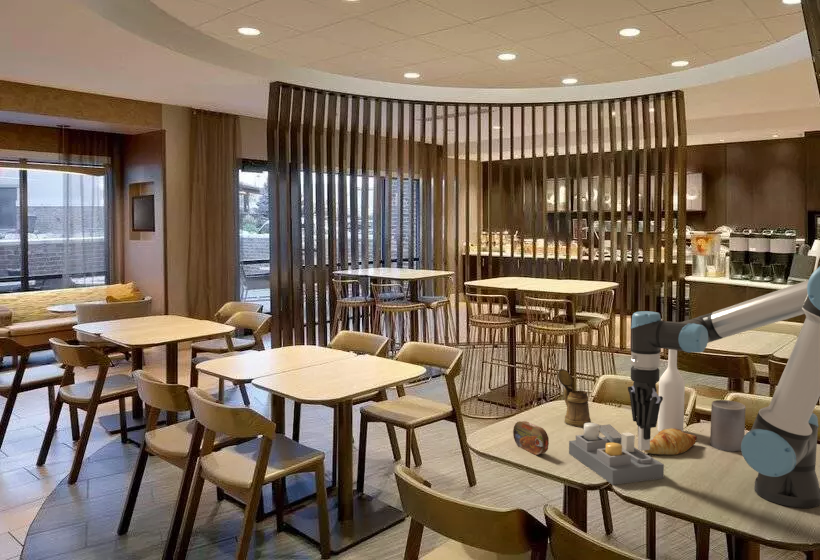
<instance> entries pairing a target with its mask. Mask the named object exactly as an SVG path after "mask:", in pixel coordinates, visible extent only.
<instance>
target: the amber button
mask: <svg viewBox="0 0 820 560" xmlns="http://www.w3.org/2000/svg"><path fill="white" fill-rule="evenodd" d="M605 453H607V454H608V455H610V456H617V455H622V445H621V444H619V443H613V442H610V443H606V452H605Z"/></svg>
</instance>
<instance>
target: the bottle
mask: <svg viewBox="0 0 820 560" xmlns="http://www.w3.org/2000/svg"><path fill="white" fill-rule="evenodd" d="M667 359H668V361H667V368H666V369H665V371H664V372H663V373H662V375H661V376H659V381H658V396H662V397H663V400H662V402H661V404H660V409H659V414H658V419H657V431H658V433H659V432H660V431H661V430H664V429H670V428H672V429H677V430H678V429H679V430H681V431H682V432H684V423H685V421H684V419H685V418H684V417H685V416H684V415H685V392H686V391H685V390H686V389H685V388H686V386H685V385H686V382H685V379H684V378H683V376H682V375H681V372H680V370H679V369H678V350H671V349H668V358H667Z"/></svg>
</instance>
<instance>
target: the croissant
mask: <svg viewBox="0 0 820 560" xmlns="http://www.w3.org/2000/svg"><path fill="white" fill-rule="evenodd" d="M697 439H698V436H696V435H694V434H690V433H686V432H684V431H683V432H682V431H681V430H679V429H678V430H677V429H672V428H670V429H664V430H661V431H660V432H659V431H658V432H657V434H655V436H654V437H653V439H650V450H643V451H644V453H645V454H651V455H666V456H667V455H668V456H674V455H675V456H676V455H678V454H680V455H681V454H684V453H685V452H688V450H689V449H690V448H692V447H693V446H694V445H695V444H696V443H697Z"/></svg>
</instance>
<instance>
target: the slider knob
mask: <svg viewBox="0 0 820 560" xmlns="http://www.w3.org/2000/svg"><path fill="white" fill-rule="evenodd" d="M621 435H622V439H621V445H622V449H624V450H626V451H627V452H634V447H635V438H636V437H635V434H633V433H631V432H621Z"/></svg>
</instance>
